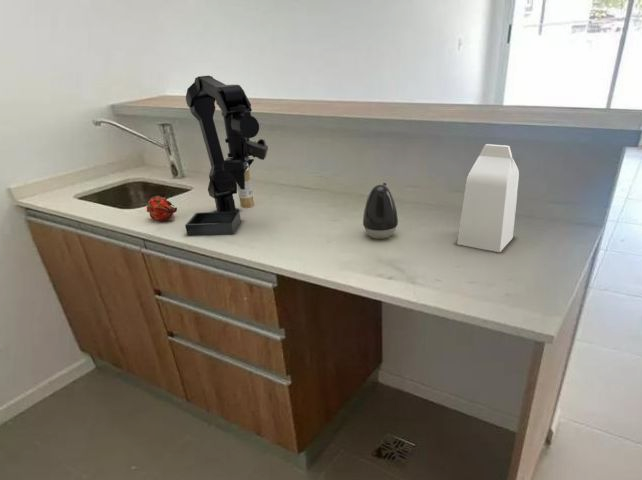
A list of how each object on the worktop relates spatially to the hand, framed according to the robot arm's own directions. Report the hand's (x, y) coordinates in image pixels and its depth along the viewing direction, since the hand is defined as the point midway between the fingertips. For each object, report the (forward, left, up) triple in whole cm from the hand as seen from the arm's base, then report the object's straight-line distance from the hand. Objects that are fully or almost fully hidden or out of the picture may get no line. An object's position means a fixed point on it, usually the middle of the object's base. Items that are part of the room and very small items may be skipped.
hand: (244, 186), depth 143 cm
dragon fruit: (-33, -9, -13) cm, 37 cm away
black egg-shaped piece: (+40, +15, -13) cm, 45 cm away
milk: (+68, +26, -13) cm, 74 cm away
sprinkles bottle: (0, 0, -6) cm, 6 cm away
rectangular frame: (-10, -6, -13) cm, 18 cm away
